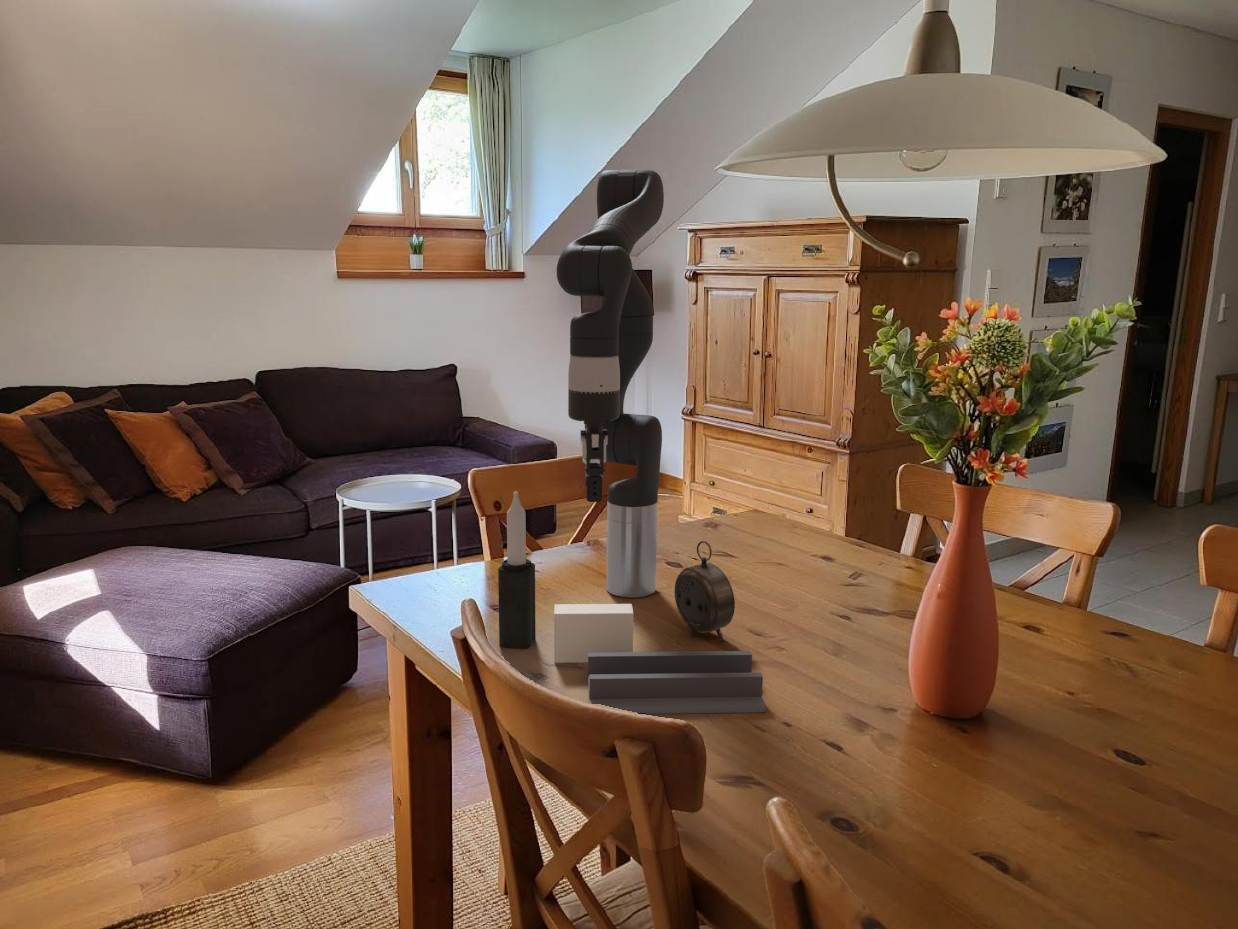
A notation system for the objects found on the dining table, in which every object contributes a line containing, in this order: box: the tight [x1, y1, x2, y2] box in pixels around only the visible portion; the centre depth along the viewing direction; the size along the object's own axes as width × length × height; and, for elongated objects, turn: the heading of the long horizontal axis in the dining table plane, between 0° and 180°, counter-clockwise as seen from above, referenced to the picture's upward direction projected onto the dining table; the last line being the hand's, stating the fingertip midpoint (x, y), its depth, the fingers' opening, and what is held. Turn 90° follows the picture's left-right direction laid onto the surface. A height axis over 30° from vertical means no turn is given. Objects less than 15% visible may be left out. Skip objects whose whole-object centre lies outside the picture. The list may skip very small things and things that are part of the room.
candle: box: [497, 490, 536, 650], centre depth 146 cm, size 5×5×25 cm
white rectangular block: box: [553, 603, 634, 664], centre depth 142 cm, size 4×12×8 cm, turn 93°
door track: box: [587, 650, 767, 715], centre depth 132 cm, size 14×24×4 cm, turn 93°
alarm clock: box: [674, 540, 736, 643], centre depth 150 cm, size 11×5×16 cm, turn 35°
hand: (593, 494), depth 138 cm, fingers open, 8 cm apart
